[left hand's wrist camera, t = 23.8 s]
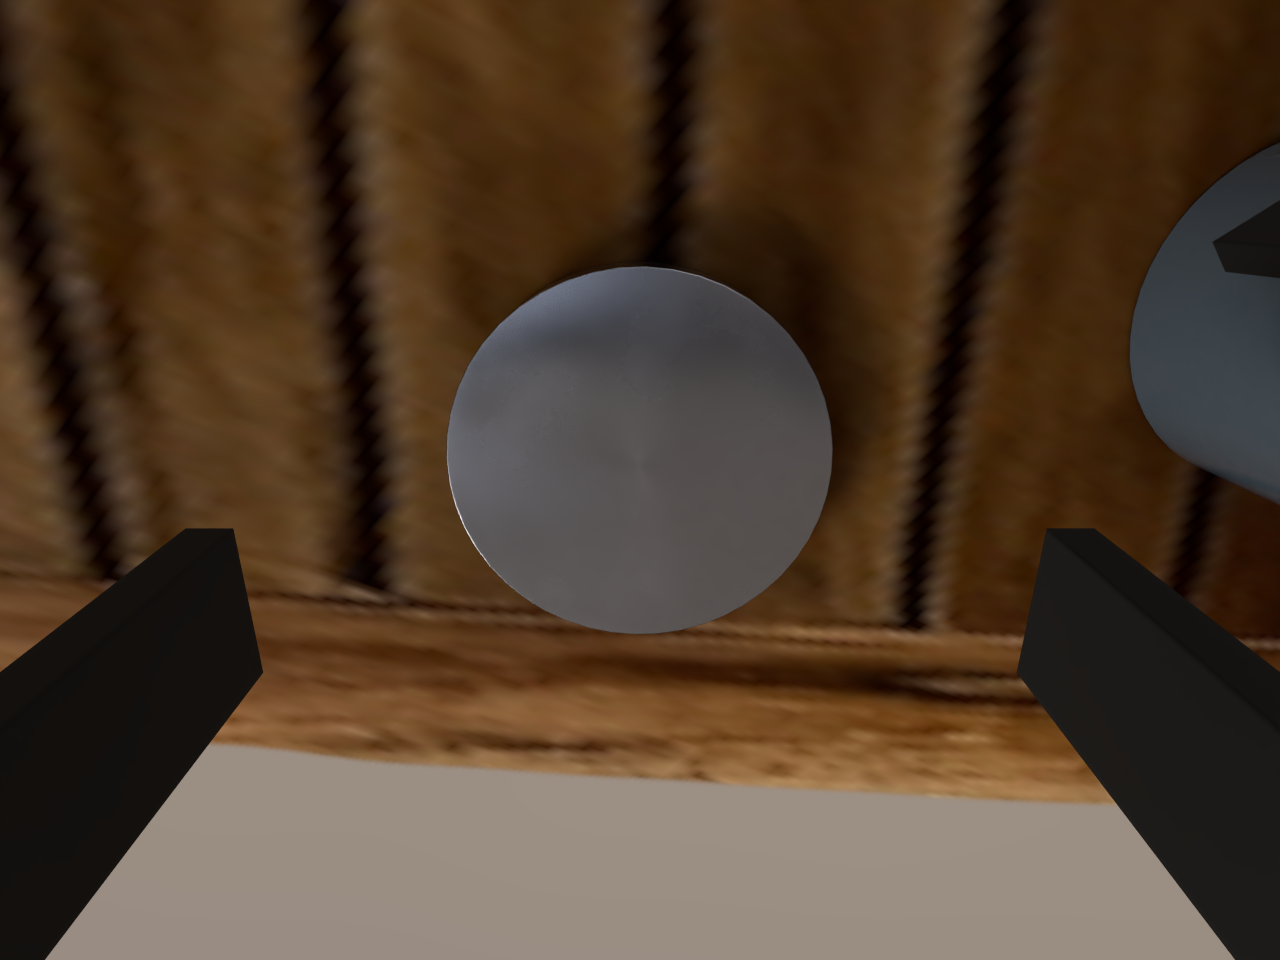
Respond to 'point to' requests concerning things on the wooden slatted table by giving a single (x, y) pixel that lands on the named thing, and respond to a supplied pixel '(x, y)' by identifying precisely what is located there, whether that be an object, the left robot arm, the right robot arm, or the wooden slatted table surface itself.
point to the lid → (639, 448)
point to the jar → (1214, 339)
